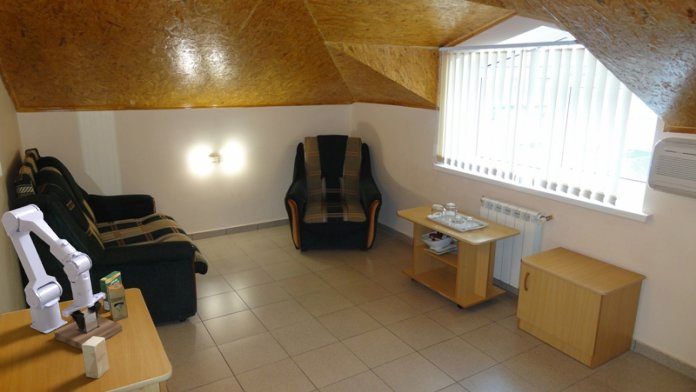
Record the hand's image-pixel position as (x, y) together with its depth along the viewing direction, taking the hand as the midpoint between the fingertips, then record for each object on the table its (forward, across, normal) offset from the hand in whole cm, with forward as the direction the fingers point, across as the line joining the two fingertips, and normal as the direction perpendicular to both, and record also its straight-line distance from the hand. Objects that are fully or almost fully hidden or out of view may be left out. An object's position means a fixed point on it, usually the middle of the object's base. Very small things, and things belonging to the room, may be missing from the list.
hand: (87, 325), depth 165 cm
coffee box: (+4, +17, +9) cm, 20 cm away
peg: (+2, 0, 0) cm, 2 cm away
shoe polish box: (+4, +13, +1) cm, 14 cm away
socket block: (+3, 0, 0) cm, 3 cm away
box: (+4, -12, -21) cm, 24 cm away
